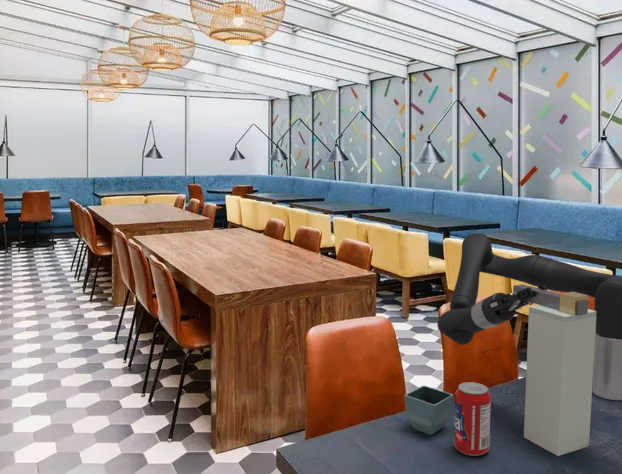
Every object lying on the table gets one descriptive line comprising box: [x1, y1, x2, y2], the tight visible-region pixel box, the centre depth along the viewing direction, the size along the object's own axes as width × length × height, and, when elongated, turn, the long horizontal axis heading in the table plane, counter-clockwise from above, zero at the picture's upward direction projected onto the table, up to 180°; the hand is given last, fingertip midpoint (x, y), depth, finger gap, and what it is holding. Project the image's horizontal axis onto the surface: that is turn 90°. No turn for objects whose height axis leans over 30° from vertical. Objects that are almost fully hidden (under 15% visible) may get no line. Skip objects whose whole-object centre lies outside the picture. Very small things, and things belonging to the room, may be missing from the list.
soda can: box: [453, 381, 492, 457], centre depth 132 cm, size 8×8×15 cm
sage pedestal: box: [523, 304, 596, 457], centre depth 134 cm, size 10×10×32 cm
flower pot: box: [404, 385, 454, 436], centre depth 143 cm, size 9×9×9 cm
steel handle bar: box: [512, 283, 589, 315], centre depth 135 cm, size 4×19×4 cm, turn 26°
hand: (538, 290), depth 138 cm, fingers open, 4 cm apart
